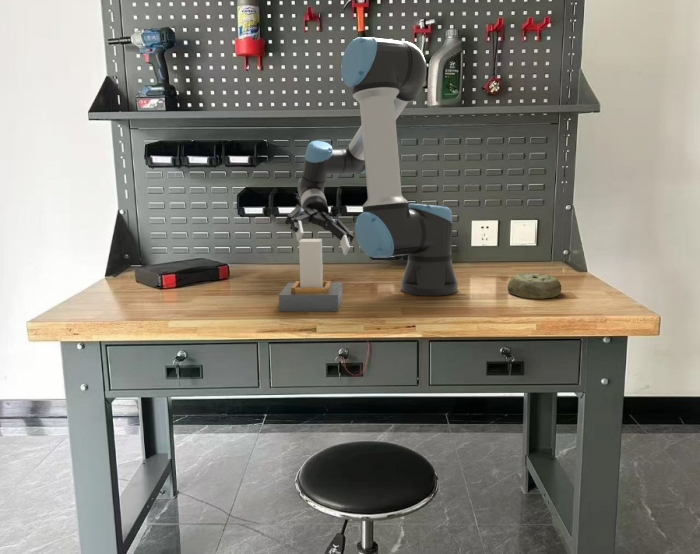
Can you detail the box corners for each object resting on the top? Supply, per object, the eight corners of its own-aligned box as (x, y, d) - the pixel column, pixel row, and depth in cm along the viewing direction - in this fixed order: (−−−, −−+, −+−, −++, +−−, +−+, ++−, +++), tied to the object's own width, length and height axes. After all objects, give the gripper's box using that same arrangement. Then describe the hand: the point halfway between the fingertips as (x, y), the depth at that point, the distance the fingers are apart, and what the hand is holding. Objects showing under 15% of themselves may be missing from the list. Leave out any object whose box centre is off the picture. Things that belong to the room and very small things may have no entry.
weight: (563, 301, 148) (564, 282, 148) (507, 299, 152) (508, 280, 151) (558, 289, 161) (559, 271, 160) (507, 287, 165) (507, 270, 164)
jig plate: (342, 297, 155) (342, 278, 154) (338, 311, 141) (337, 290, 140) (288, 297, 155) (288, 278, 154) (279, 311, 142) (278, 290, 141)
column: (323, 286, 150) (321, 238, 147) (320, 290, 145) (319, 241, 142) (303, 286, 150) (301, 238, 148) (300, 290, 145) (298, 241, 143)
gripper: (347, 229, 183) (359, 267, 165) (270, 204, 174) (275, 242, 156) (357, 208, 179) (371, 245, 162) (279, 182, 170) (285, 219, 153)
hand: (324, 244), depth 159 cm, fingers open, 13 cm apart
